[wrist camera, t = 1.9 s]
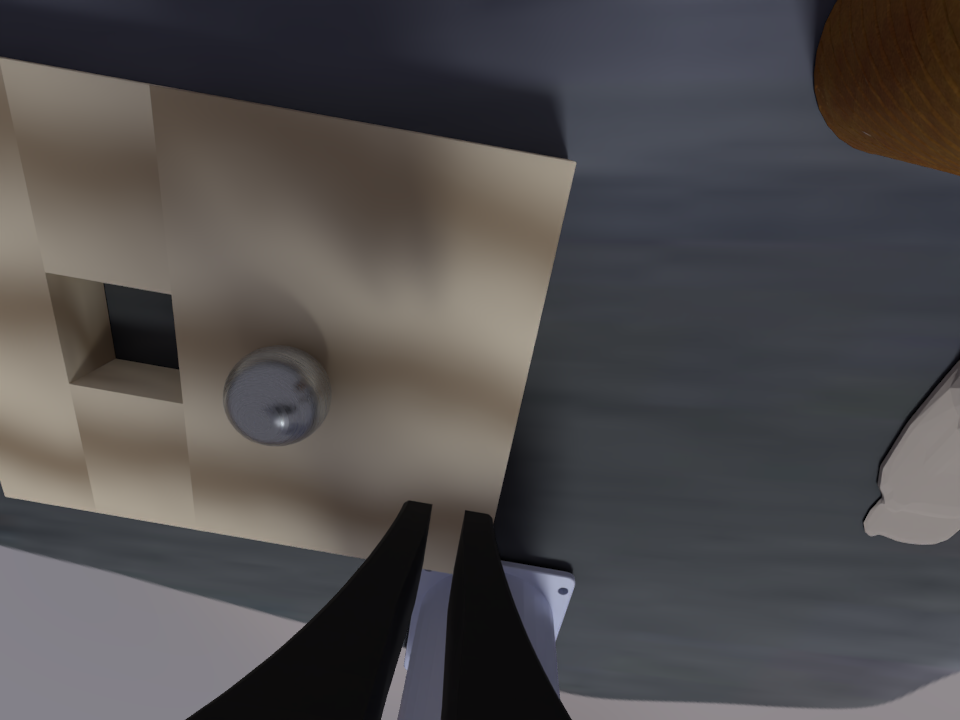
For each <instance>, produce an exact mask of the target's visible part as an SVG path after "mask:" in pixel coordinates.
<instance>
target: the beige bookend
mask: <svg viewBox="0 0 960 720" xmlns="http://www.w3.org/2000/svg"><path fill="white" fill-rule="evenodd" d="M877 485H878V487H879V489H880V491H881V493H882V498H881V499H880V500H879V501H878V502H877V504H876V505H875V506H874V507H873V508H872V509H871V510H870V512H869V513H868V515H867V517H866V519H865V521H864V528H865V532H866V533H867V534H868V535H870V536H875V535H878V534H880V535H883V536H886V537H888V538H891V539H893V540H896V541H900V542H904V543H909V544H920V545H925V544H936V543H939V542H942V541H945V540H948V539H949V538H950V537H951V536H953V535H954V534H955V533H956V532H957V531H959V530H960V360H959V361H958V362H957V363H956V365H955V366H954V367H953V368H952V369H951V370H950V372H949V373H948V374H947V375H946V376H945V377H944V378H943V380H942V381H941V382H940V383H939V384H938V385H937V387H936V388H935V389H934V390H933V392H932V393H931V394H930V395H929V397H928V398H927V399H926V400H925V401H924V403H923V404H922V405H921V406H920V408H919V409H918V410H917V411H916V412H915V414H914V415H913V416H912V417H911V419H910V420H909V421H908V422H907V424H906V425H905V427H904V429H903V430H902V432H901V433H900V435H899V437H898V438H897V440H896V441H895V443H894V445H893V446H892V448H891V449H890V451H889V453H888V454H887V456H886V457H885V459H884V461H883V462H882V464H881V465H880V472H879V478H878V484H877Z"/></svg>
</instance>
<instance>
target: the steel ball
mask: <svg viewBox="0 0 960 720" xmlns="http://www.w3.org/2000/svg"><path fill="white" fill-rule="evenodd" d="M331 400H332V389H331V384H330V380H329V377H328V375H327V373H326V371H325V369H324V368H323V367H322V365H321V364H320V363H319V362H318V361H317V360H316V359H315V358H314V357H312V356H311V355H310V354H308V353H307V352H305V351H303V350H300V349H298V348H294V347H290V346H282V345H275V346H268V347H263V348H260V349H257V350H255V351H253V352H251V353H249V354H248V355H246V356H244V357H243V358H242V359H241V360H240V361H238V362H237V363H236V364H235V366H234V367H233V368H232V370H231V371H230V373H229V375H228V376H227V379H226V382H225V385H224V389H223V406H224V410H225V413H226V416H227V418H228V420H229V422H230V423H231V425H232V426H233V427H234V428H235V430H236V431H237V432H238V433H240V434H241V435H242V436H243V437H245V438H247V439H248V440H250V441H252V442H255V443H258V444H261V445H265V446H286V445H291V444H294V443H297V442H300V441H302V440H303V439H305V438H307V437H309V436H310V435H311V434H312V433H314V432H315V431H316V430H317V429H318V428H319V427H320V426H321V424H322V423H323V421H324V420H325V418H326V416H327V414H328V412H329V409H330V405H331Z"/></svg>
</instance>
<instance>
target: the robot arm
mask: <svg viewBox="0 0 960 720" xmlns="http://www.w3.org/2000/svg"><path fill="white" fill-rule="evenodd" d="M432 505H433V504H428V503H422V502H416V501H411V500H408V501H407V502H405V503H404V504H403V506H402V508H401V510H400V512H399V513H398V515H397V517H396V518H395V520H394V522H393V523H392V525H391V526H390V528H389V529H388V531H387V532H386V534H385V535H384V536H383V538H382V539H381V541H380V542H379V543H378V545H377V546H376V547H375V549H374V550H373V551H372V553H371V554H370V555H369V556H368V558H367V559H366V560H365V562H364V563H363V564H362V565H361V566H360V568H359V569H358V570H357V571H356V572H355V573H354V575H353V576H352V577H351V578H350V579H349V580H348V582H347V583H346V584H345V585H344V586H343V587H342V588H341V590H340V591H339V592H338V593H337V594H336V595H335V596H334V597H333V598H332V599H331V600H330V601H329V602H328V603H327V604H326V605H325V606H324V607H323V608H322V609H321V610H320V611H319V612H318V613H317V614H316V615H315V616H314V617H313V618H312V619H311V620H310V621H309V622H308V623H307V624H306V625H305V626H304V627H303V628H302V629H301V630H300V631H298V632H297V633H296V634H295V635H294V636H293V637H292V638H291V639H290V640H289V641H288V642H286V643H285V644H284V645H283V646H282V647H281V648H279V650H277V651H276V652H275V653H274V654H272V656H270V657H269V658H268V659H266V660H265V661H264V662H263V663H262V664H260V665H259V666H258V667H256V668H255V669H254V670H252V671H251V672H250V673H249V674H247V675H246V676H245V677H244V678H242V679H241V680H240V681H239V682H237V683H236V684H235V685H233V686H232V687H231V688H230V689H228V690H227V691H225V692H224V693H223V694H221V695H220V696H219V697H217V698H216V699H214V700H213V701H212V702H210V703H209V704H207V705H206V706H204V707H203V708H201V709H200V710H199V711H197V712H196V713H194V714H193V715H191V716H190V717H189V718H187V719H186V720H381V717H382V713H383V709H384V705H385V702H386V698H387V694H388V691H389V688H390V685H391V681H392V678H393V675H394V671H395V668H396V664H397V661H398V658H399V655H400V652H401V648H402V645H403V642H404V639H405V635H406V632H407V629H408V625H409V622H410V619H411V622H410V628H409V635H408V641H407V648H406V654H405V661H404V667H405V669H406V670H407V675H406V680H405V685H404V690H403V695H402V700H401V704H400V710H399V714H398V719H397V720H572V719H571V718H570V716H569V714H568V713H567V711H566V709H565V708H564V706H563V704H562V702H561V701H560V693H559V681H558V668H557V656H556V644H555V641H556V639H557V636H558V633H559V630H560V627H561V624H562V621H563V618H564V615H565V613H566V610H567V607H568V604H569V601H570V598H571V595H572V592H573V589H574V587H575V578H574V576H573V575H572V574H571V573H569V572H565V571H559V570H554V569H548V568H542V567H536V566H531V565H525V564H519V563H513V562H508V561H502V560H501V559H500V555H499V551H498V547H497V543H496V538H495V533H494V527H493V519H492V517H491V516H490V515H489V514H485V513H479V512H474V511H468V510H465V514H464V519H463V524H462V529H461V534H460V539H459V544H458V550H457V555H456V560H455V565H454V570H453V574H449V573H443V572H437V571H431V570H426V569H422V567H423V562H424V556H425V549H426V543H427V537H428V530H429V524H430V518H431V511H432Z"/></svg>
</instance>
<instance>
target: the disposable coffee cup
mask: <svg viewBox="0 0 960 720" xmlns="http://www.w3.org/2000/svg"><path fill="white" fill-rule="evenodd" d="M814 84H815V94H816V98H817V102H818V106H819V110H820V112H821V114H822V116H823V118H824V120H825V121H826V123H827V125H828V127H829V128H830V129H831V130H832V131H833V132H834V133H835V134H836V136H837V137H838V138H839V139H841V140H842V141H844V142H845V143H847V144H848V145H850V146H851V147H853V148H855V149H858V150H861V151H864V152H867V153H870V154H877V155H881V156H885V157H889V158H893V159H896V160H901V161H905V162H908V163H912V164H917V165H921V166H924V167H928V168H933V169H936V170H940V171H944V172H948V173H952V174H955V175H959V176H960V0H837V2H836V3H835V5H834V7H833V9H832V11H831V13H830V15H829V17H828V19H827V21H826V23H825V26H824V29H823V32H822V36H821V39H820V42H819V46H818V49H817V54H816V62H815V70H814Z"/></svg>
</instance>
